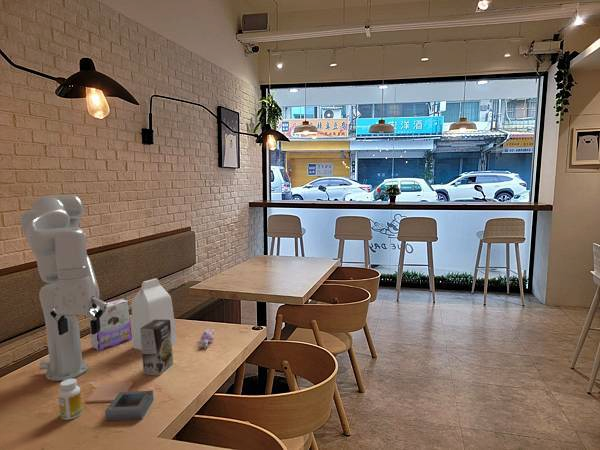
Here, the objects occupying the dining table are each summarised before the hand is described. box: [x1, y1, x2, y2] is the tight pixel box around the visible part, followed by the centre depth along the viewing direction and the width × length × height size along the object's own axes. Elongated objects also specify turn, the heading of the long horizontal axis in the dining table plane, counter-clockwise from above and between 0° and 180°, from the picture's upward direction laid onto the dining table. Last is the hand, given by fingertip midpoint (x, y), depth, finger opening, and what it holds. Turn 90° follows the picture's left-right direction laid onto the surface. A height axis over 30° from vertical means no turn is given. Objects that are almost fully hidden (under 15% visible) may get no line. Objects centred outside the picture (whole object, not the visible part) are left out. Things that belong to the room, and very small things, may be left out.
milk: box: [131, 277, 178, 351], centre depth 160 cm, size 12×12×26 cm
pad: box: [85, 381, 134, 404], centre depth 126 cm, size 10×10×1 cm
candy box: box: [88, 298, 133, 352], centre depth 163 cm, size 14×6×16 cm, turn 141°
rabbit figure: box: [196, 328, 215, 351], centre depth 161 cm, size 6×6×15 cm
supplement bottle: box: [57, 378, 83, 421], centre depth 114 cm, size 5×5×10 cm
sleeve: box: [104, 390, 154, 422], centre depth 116 cm, size 10×10×3 cm
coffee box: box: [140, 320, 174, 376], centre depth 140 cm, size 9×6×16 cm
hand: (79, 333), depth 116 cm, fingers open, 9 cm apart
